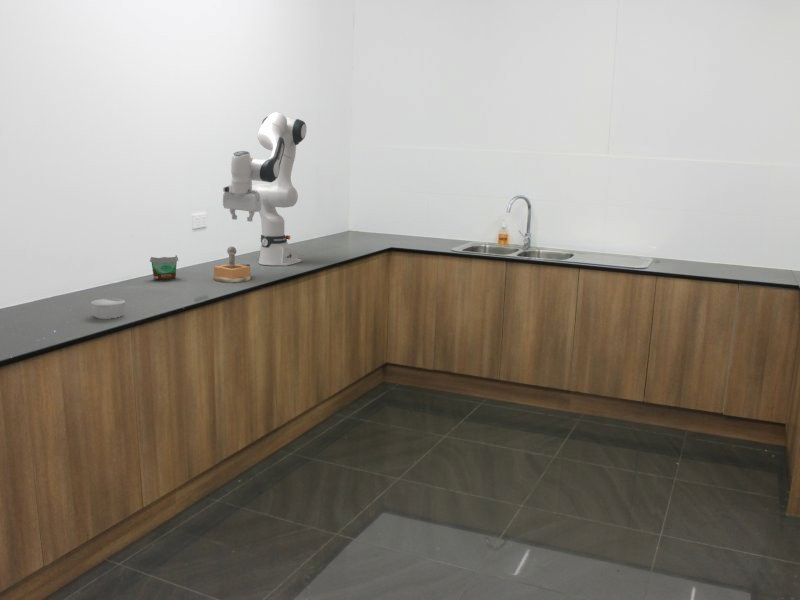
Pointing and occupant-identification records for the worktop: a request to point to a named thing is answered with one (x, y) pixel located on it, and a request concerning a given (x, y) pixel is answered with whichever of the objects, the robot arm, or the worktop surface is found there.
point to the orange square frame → (232, 271)
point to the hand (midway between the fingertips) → (242, 220)
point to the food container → (164, 268)
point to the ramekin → (108, 308)
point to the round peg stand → (232, 252)
